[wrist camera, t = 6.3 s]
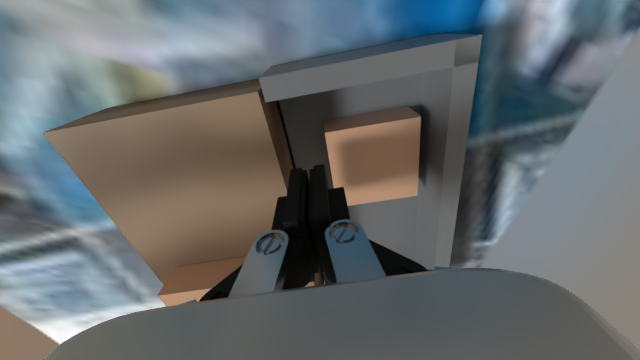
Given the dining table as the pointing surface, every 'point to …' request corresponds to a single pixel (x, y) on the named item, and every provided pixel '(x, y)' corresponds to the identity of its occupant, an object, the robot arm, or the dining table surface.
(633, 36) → the dining table surface
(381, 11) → the dining table surface
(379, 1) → the dining table surface
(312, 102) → the tray
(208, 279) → the tile
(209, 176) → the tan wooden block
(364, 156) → the tile
